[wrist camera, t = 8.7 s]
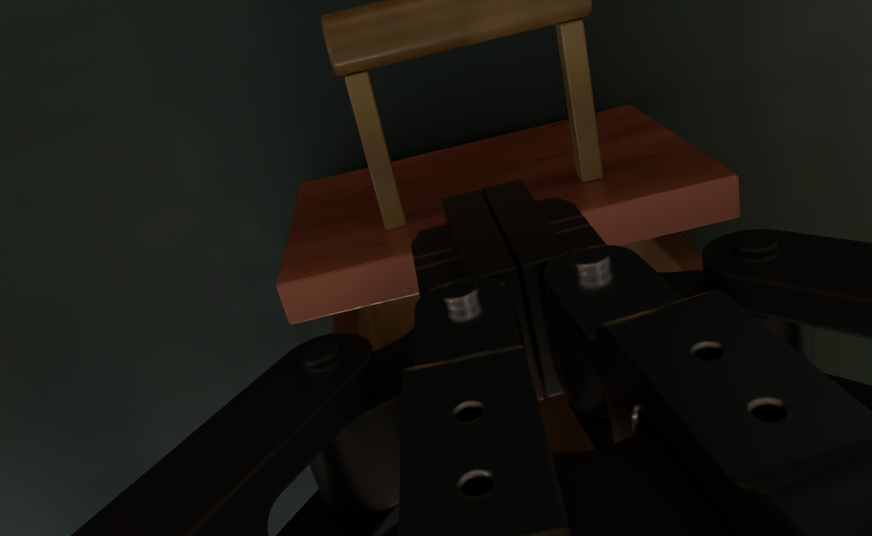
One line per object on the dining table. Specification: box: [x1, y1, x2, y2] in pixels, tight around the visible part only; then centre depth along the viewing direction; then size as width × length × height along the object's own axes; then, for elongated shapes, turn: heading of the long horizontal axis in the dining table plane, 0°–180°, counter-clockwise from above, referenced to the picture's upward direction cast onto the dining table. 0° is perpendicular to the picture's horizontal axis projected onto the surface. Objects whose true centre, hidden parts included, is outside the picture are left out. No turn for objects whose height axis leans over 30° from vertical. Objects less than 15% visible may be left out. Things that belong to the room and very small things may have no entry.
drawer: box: [276, 0, 740, 453], centre depth 24 cm, size 20×12×8 cm, turn 12°
